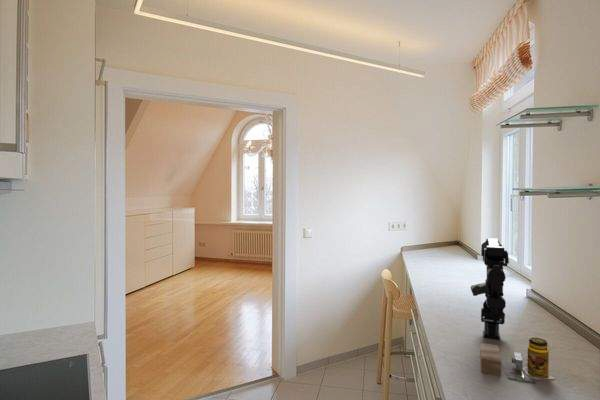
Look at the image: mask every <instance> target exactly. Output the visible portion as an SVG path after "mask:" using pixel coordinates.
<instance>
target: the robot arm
mask: <svg viewBox="0 0 600 400" xmlns="http://www.w3.org/2000/svg"><path fill="white" fill-rule="evenodd" d="M480 256H481V257H482V262H483V263H484V265H485V266H486V279H485V282H481V283H477V284H473V285H470V291H471V293H472V296H473V297H476V296H478V295H484V296H485V297H486V299H485V300H484V302H483V303H482V307H481V309H480V322H482V323H483V325H484V326H483V331H482V335H483V336H482V337H483V338H489V339H495V340H501V334H500V325H504V324H505V319H506V313H505V312H504V309H505V308H506V305H507V304H506V299H505V298H504V286H505V285H504V282H505V281H506V277H507V276H506V274H505V271H504V267H508V265H509V263H510V262H509V252H508V250H507V249H505V247H504V245H502V244H501V242H500V239H499V238H496V237H493V238H492V237H488V238H486V239H485V241H484V242H482V244H481V247H480Z"/></svg>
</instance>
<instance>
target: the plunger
mask: <svg viewBox="0 0 600 400" xmlns="http://www.w3.org/2000/svg"><path fill="white" fill-rule="evenodd" d="M510 361H511V362H510V363H511V364H514V368H515V369H514V370H516V371H520V375H521V376H522V378H523V379H524V371H523V370H522V367H524V365H523V357H522V354H521V352H517V351H513V357H512V356H510Z"/></svg>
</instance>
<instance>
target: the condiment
mask: <svg viewBox="0 0 600 400" xmlns="http://www.w3.org/2000/svg"><path fill="white" fill-rule="evenodd" d="M528 342H529V343H528V346H527V356H526V357H527V364H526V365H527V366H523V367H522V372H523V373H524V372H525V374H526V375H528V377H530V378H534V379H535V380H556V378H555V377H553V375H551V374H549V362H550V361H549V360H550V359H549V357H550V356H549V354H550V353H549V351H550V350H549V349H548V342H547V340H546V339H543V338H541V337H530V338H529V339H528Z"/></svg>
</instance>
